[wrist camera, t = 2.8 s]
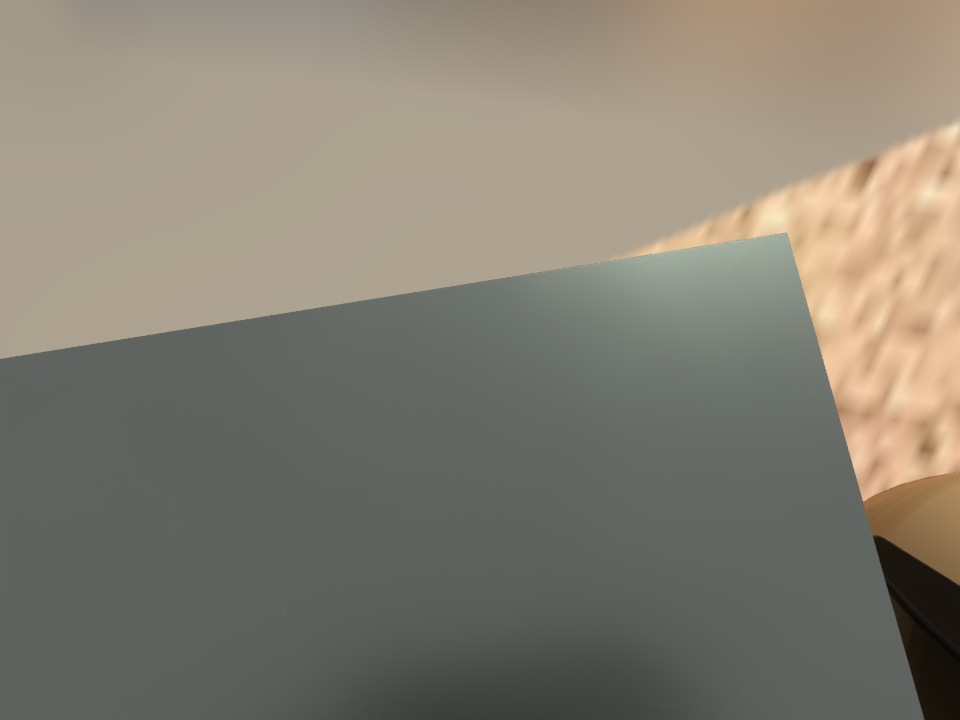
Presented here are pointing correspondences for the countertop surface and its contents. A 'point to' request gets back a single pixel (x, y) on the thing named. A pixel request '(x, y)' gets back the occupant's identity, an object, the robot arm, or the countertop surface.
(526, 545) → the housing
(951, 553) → the pedestal
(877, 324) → the countertop surface
